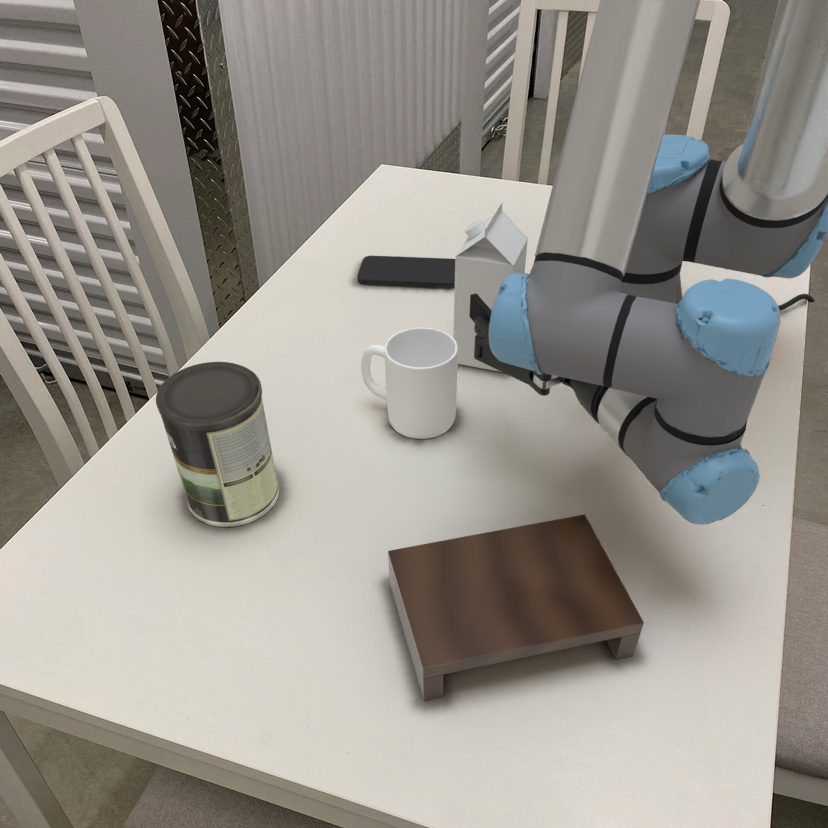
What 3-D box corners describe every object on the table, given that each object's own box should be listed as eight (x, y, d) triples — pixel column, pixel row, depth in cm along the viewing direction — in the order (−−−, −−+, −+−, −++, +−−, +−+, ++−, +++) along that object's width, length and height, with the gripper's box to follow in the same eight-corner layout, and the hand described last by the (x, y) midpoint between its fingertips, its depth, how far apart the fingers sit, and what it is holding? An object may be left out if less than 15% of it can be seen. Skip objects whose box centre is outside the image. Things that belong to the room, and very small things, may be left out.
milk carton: (518, 344, 110) (531, 204, 96) (505, 374, 105) (516, 232, 91) (467, 335, 112) (472, 197, 98) (452, 364, 107) (455, 223, 93)
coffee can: (182, 531, 87) (148, 427, 77) (192, 467, 94) (162, 364, 84) (279, 524, 88) (258, 420, 77) (281, 461, 95) (263, 357, 84)
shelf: (578, 548, 85) (584, 513, 81) (633, 655, 75) (644, 622, 72) (389, 584, 82) (387, 550, 78) (423, 701, 72) (423, 669, 69)
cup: (439, 448, 96) (439, 375, 88) (348, 422, 99) (342, 350, 92) (466, 408, 101) (469, 336, 93) (379, 384, 104) (375, 314, 97)
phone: (364, 254, 126) (461, 258, 124) (364, 259, 126) (461, 263, 125) (355, 279, 121) (457, 283, 119) (356, 284, 121) (457, 288, 120)
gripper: (509, 459, 78) (425, 345, 92) (727, 399, 84) (618, 300, 98) (515, 395, 73) (425, 283, 86) (747, 335, 79) (629, 240, 92)
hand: (527, 292), depth 92 cm, fingers open, 13 cm apart
